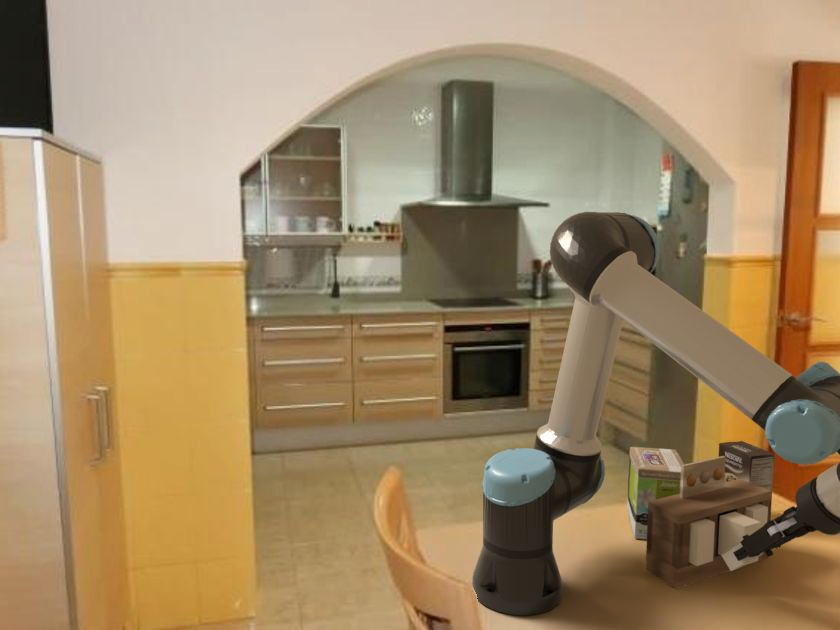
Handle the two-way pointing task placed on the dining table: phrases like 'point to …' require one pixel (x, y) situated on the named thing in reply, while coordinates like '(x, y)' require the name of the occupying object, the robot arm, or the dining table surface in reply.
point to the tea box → (650, 482)
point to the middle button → (735, 531)
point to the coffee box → (747, 463)
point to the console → (696, 500)
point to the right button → (757, 513)
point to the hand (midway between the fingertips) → (729, 562)
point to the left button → (701, 541)
